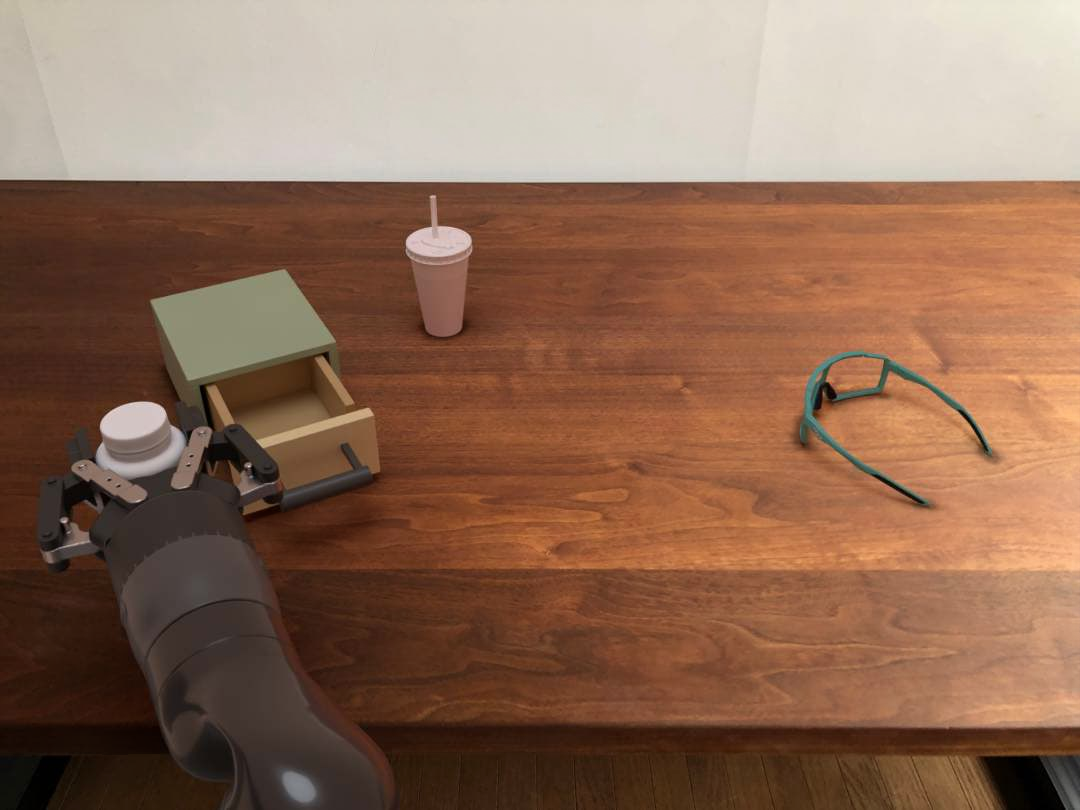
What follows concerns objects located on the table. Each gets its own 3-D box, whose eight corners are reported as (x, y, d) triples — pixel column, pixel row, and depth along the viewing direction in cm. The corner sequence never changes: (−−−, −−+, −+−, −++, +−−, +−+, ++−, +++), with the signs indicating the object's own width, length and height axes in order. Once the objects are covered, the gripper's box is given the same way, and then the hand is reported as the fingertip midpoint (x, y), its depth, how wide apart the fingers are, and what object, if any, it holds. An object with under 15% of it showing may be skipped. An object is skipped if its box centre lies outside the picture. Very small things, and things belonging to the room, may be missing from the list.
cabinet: (345, 413, 94) (336, 341, 90) (204, 454, 89) (187, 380, 85) (295, 336, 105) (285, 268, 100) (166, 369, 100) (149, 299, 95)
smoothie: (451, 304, 110) (444, 178, 102) (488, 329, 106) (484, 200, 98) (399, 324, 107) (388, 196, 98) (435, 351, 103) (427, 220, 94)
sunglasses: (855, 372, 100) (869, 330, 96) (997, 458, 92) (1018, 414, 88) (762, 433, 92) (775, 389, 89) (909, 532, 84) (928, 487, 81)
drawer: (403, 507, 83) (398, 449, 79) (260, 555, 78) (248, 496, 75) (326, 388, 96) (318, 334, 92) (200, 423, 91) (187, 368, 88)
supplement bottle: (211, 561, 69) (180, 438, 63) (122, 578, 68) (82, 454, 62) (208, 507, 74) (178, 387, 68) (124, 522, 72) (87, 401, 66)
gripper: (71, 692, 55) (30, 504, 67) (333, 598, 61) (252, 440, 73) (31, 591, 51) (-5, 409, 63) (317, 499, 56) (234, 348, 69)
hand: (133, 426), depth 68 cm, fingers closed on supplement bottle, 5 cm apart
